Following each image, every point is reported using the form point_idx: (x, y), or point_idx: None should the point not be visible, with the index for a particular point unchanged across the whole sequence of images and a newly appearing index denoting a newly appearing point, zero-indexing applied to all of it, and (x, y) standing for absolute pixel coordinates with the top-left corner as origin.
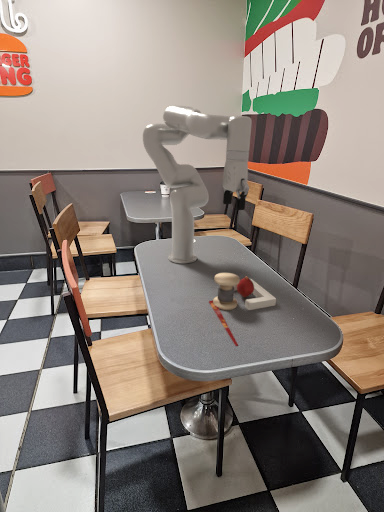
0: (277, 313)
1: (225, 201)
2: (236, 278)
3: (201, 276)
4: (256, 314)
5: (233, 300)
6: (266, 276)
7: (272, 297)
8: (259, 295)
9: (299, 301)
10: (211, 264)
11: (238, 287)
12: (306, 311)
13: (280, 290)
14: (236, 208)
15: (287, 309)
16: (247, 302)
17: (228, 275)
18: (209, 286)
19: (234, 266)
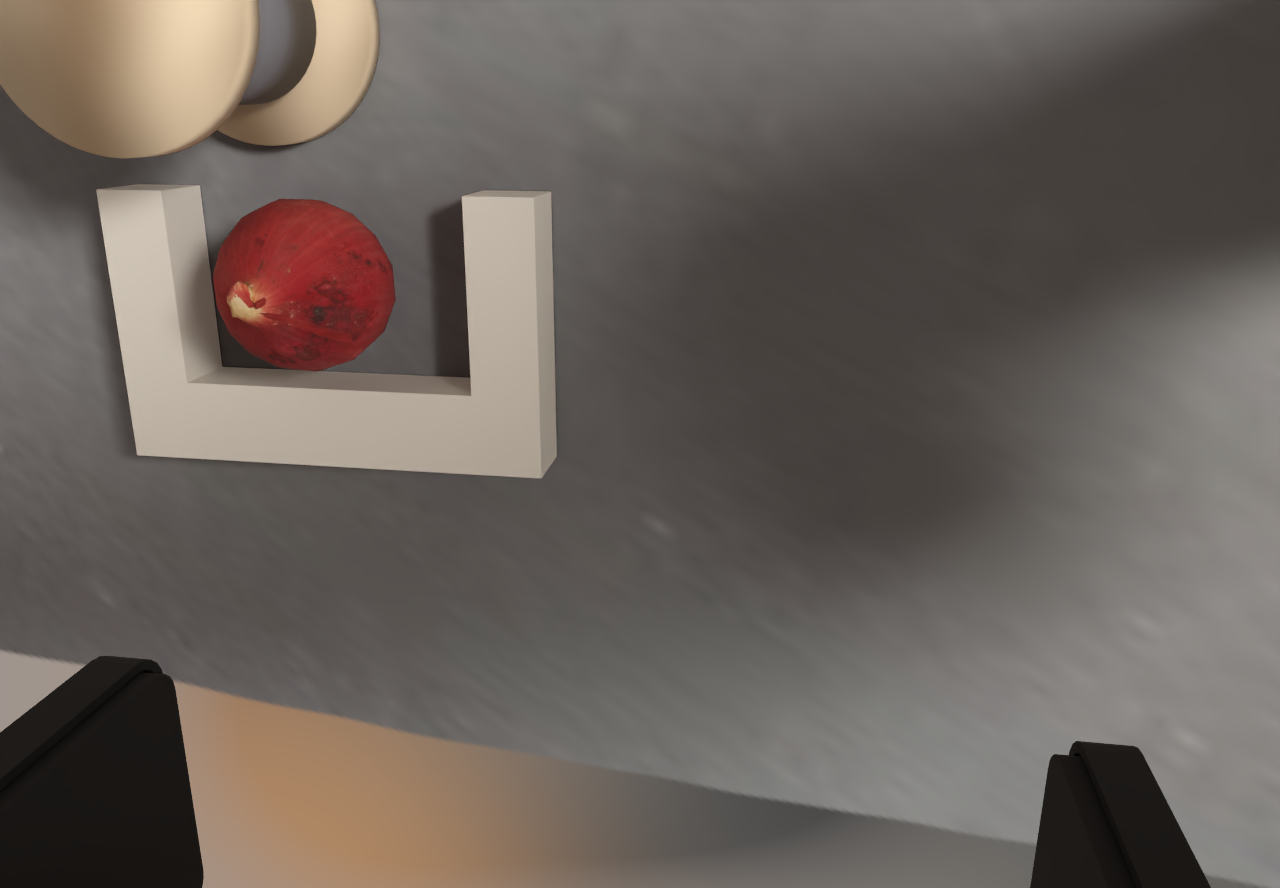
0: (66, 378)
1: (1066, 848)
2: (71, 108)
3: (913, 43)
4: (74, 211)
5: (256, 111)
6: (671, 690)
7: (160, 438)
8: (268, 379)
9: (200, 643)
10: (1194, 317)
11: (284, 203)
12: (65, 590)
13: (391, 629)
14: (80, 678)
15: (108, 484)
16: (132, 188)
17: (159, 54)
18: (643, 30)
19: (1016, 540)
